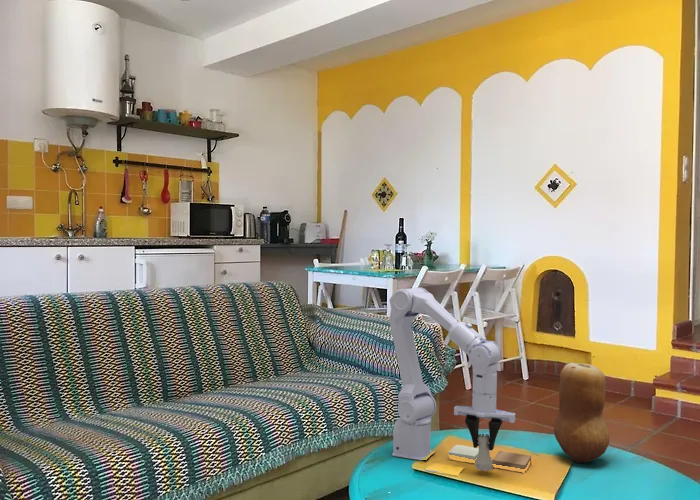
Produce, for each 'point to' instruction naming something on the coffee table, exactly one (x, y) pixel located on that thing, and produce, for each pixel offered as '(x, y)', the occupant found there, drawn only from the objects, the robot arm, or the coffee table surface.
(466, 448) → the grey-green block
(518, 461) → the walnut block
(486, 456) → the rook chess piece
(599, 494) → the coffee table surface
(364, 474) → the coffee table surface
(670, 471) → the coffee table surface
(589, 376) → the butternut squash
